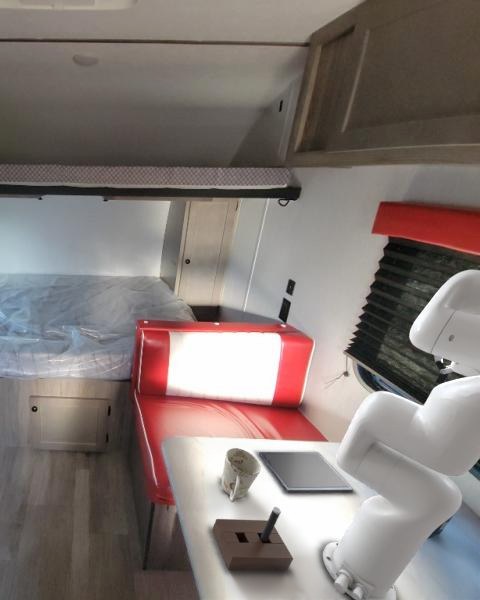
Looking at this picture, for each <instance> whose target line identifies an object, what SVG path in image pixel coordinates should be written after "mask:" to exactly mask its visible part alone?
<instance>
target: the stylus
mask: <svg viewBox="0 0 480 600" xmlns="http://www.w3.org/2000/svg"><path fill="white" fill-rule="evenodd" d="M281 513H282V510H281V509H280V508H279V507H278V506H273V507H272V511H271V513H270V515H269V517H268V519H267V520H268V521H267V523H266V526H265V528H264V530H263V532H262V535H261V537H260V540H261V542H262V543H267V541H268V539H269V537H270V534H271V532H272V530H273V528H274V526H275V527H276V523H277V521H278V519H279V518H280V515H281Z"/></svg>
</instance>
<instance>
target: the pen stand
mask: <svg viewBox="0 0 480 600" xmlns="http://www.w3.org/2000/svg"><path fill="white" fill-rule="evenodd" d="M267 521H268V519H267V520H266V519H234V518H233V519H232V518H216V519H215V522H214V524H213V527H212V529H211V530H212V533H213V536H214V538H215V541H216V544H217V546H218V548H219V551H220V554H221V556H222V559H223V561H224V563H225V566H226V568H227V570H252V571H253V570H256V571H288V570H289V568H290V566H291V564H292V562H293V560H294V557H293V556H292V553H291V552H290V550H289V549H288V547H287V545H286V544H285V542H284V540H283V538H282V536H281V534H280V533H279V531H278V530H277V528H276V525H275V526H274V528H273V530H272V532H271V534H270V537H269V539H268V541H267V543H262V542H261V540H260V537H261V535H262V532H263V530H264V528H265V526H266V523H267Z"/></svg>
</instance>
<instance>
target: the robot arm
mask: <svg viewBox="0 0 480 600" xmlns="http://www.w3.org/2000/svg"><path fill="white" fill-rule="evenodd" d="M409 340H410V343H411V345H412V346H414V347H415V348H416V349H418V350H420V351H423V352H425V353H427V354H431V355H433V357H434V362H435V365H436V367H437V369H438V370H439V375H438V377H437V379H436V380H435V383H437V385H436V386H435V387H433V389H432V390H431V391H430V394H429V395H428V397H427V399H426V401H425V402H424V404H423V405H422V404H418V403H416V402H414V401H413V400H410V399H408V398H405V397H403V396H401V395H398V394H396V393H392V392H390V391H385V390H378V391H374V392H372V393H370V394H369V395H367V396H366V398H364V400H362V402H361V404H360V405H359V407H358V408H357V411H356V412H355V414H354V416H353V418H352V420H351V422H350V424H349V426H348V428H347V430H346V432H345V434H344V436H343V438H342V440H341V441H340V444H339V447H338V448H337V451H336V457H335V460H336V464H337V465H338V467H339V468H340V469H341V470H342V471H343V472H345V473H346V474H347V475H349V476H350V477H352V478H353V479H355V480H356V481H358V482H359V483H361V484H363V485H364V486H365V487H367V488H369V489H370V490H372V491H374V492H375V493H377V495H373V496H370V497H368V498H367V499H365V500H364V501H363V502H362V503H361V505H360V506H359V508H358V509H357V511H356V513H355V514H354V516H353V518H352V520H351V521H350V523H349V525H348V526H347V529H346V530H345V532H344V534H343V535H342V537H341V539H340V541H332V542H329V543H327V544H326V546H325V547H324V548H323V551H322V560H323V563H324V566H325V568H326V570H327V572H328V573H329V575H330V577H331V578H332V580H334V582H333V588H334V589H335V590H336V591H337V592H338V593H340V594H345V593H346V594H348V596H349V597H350V598H352V599H353V600H397V598H398V597H397V591H396V587H395V583H396V581H397V580H398V579H399V577H400V576H401V575H402V573H403V572H404V571H405V569H406V568H407V566H409V563H411V561H412V559H414V557H415V556H416V555H417V553H418V551H419V550H420V549H421V548H422V546H423V545H424V544H425V542H426V541H427V540H428V538H429V537H430V536H432V535H431V534H432V532H433V531H434V530H436V529H437V528H438V527H439V526H440V525H441V524H443V523H444V522H445V521H447V520H448V519H449V518H451V517H452V516H453V515H454V516H455V515H456V513H457V512H458V511H459V510H460V507H462V502H463V495H462V491H461V490H460V488H459V486H458V485H457V484H456V483H455V482H454V480H452V479H451V478H449V477H459V476H463V475H465V474H466V473H468V472H469V471H470V470H471V469H472V468H473V467H474V465H476V463H477V462H478V461H479V460H480V270H479V269H467V270H463V271H459V272H458V273H456V274H454V275H453V276H451V277H450V278H448V280H446V282H445V283H444V284H443V285H441V287H440V288H439V289H438V290H437V291H436V293H435V294H434V295H433V297H432V298H431V299H430V301H429V302H428V303H427V304H426V306H424V308H423V310H422V311H421V312H420V313H419V315H418V316H417V318H416V319H415V320H414V321H413V324H412V325H411V328H410V331H409ZM443 359H444V360H447V361H451V363H450V365H446V364H445V363H444V361H443ZM451 373H456V374H459V375H461V376H464V377H461V378H456V379H453V380H448V381H447V379H448V377H449V375H450V374H451ZM454 516H453V517H454ZM453 517H452V518H453ZM452 518H451V519H452Z"/></svg>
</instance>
